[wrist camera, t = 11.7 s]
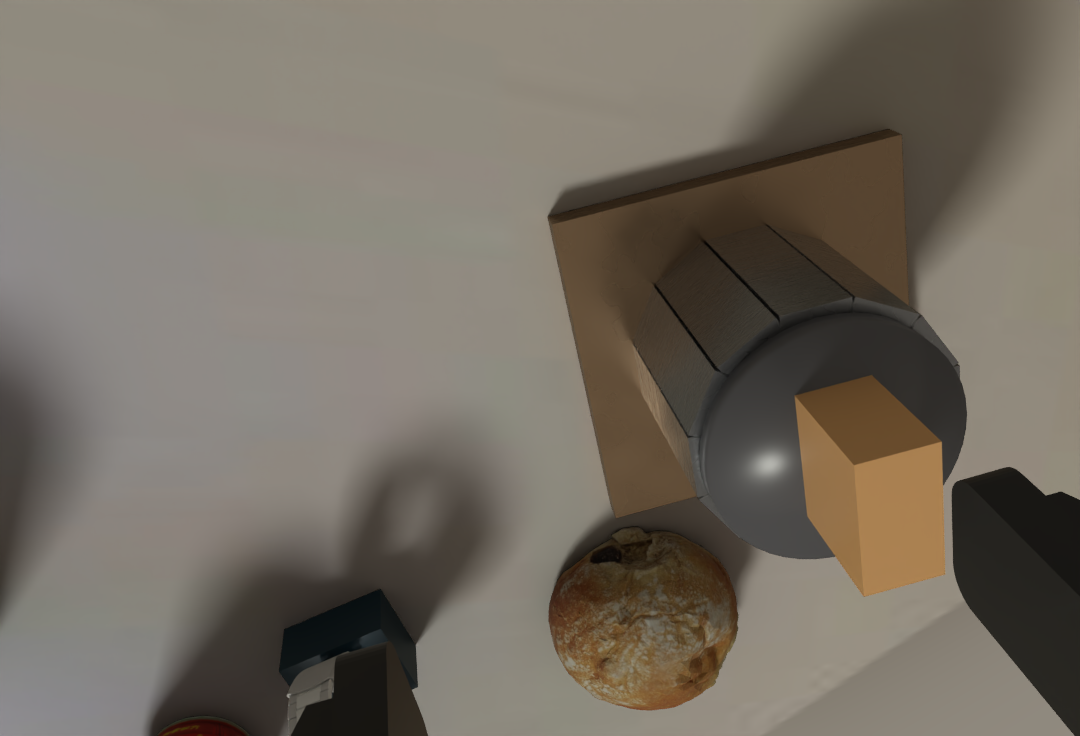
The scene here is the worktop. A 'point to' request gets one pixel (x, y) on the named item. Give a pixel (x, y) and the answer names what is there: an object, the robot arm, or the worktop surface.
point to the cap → (839, 447)
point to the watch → (339, 648)
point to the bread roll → (644, 619)
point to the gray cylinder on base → (721, 293)
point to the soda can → (203, 727)
